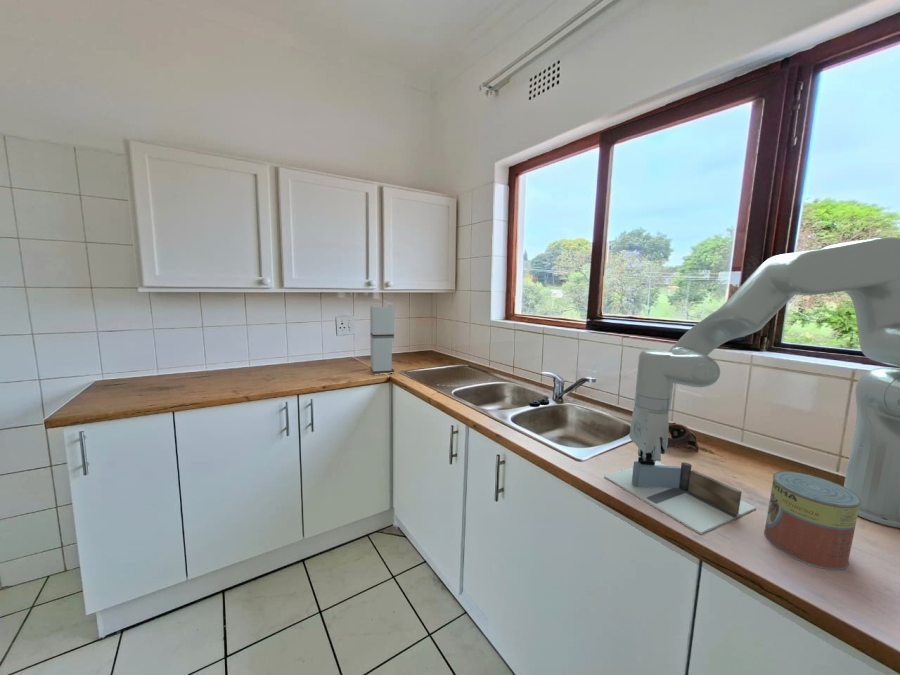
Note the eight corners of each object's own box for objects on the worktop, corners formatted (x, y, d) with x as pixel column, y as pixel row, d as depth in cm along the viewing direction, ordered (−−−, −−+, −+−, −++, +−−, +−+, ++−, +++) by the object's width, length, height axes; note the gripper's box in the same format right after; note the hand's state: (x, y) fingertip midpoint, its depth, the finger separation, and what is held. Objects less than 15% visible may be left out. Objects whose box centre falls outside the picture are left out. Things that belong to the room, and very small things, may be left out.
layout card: (756, 509, 78) (757, 507, 78) (701, 535, 70) (702, 532, 69) (656, 461, 99) (656, 460, 99) (603, 477, 90) (604, 475, 90)
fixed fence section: (739, 516, 76) (743, 487, 75) (733, 519, 75) (738, 489, 74) (681, 487, 86) (684, 461, 85) (676, 489, 85) (679, 463, 84)
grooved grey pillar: (393, 374, 189) (393, 307, 184) (373, 375, 186) (372, 307, 181) (390, 369, 200) (390, 306, 195) (370, 370, 196) (370, 306, 191)
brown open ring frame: (707, 458, 103) (698, 436, 101) (671, 467, 106) (663, 445, 104) (689, 432, 114) (681, 411, 112) (657, 440, 117) (649, 420, 115)
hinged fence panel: (675, 485, 86) (678, 463, 85) (679, 488, 84) (681, 466, 83) (630, 483, 86) (632, 461, 85) (633, 486, 85) (635, 464, 84)
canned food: (757, 519, 75) (766, 465, 73) (833, 540, 69) (844, 481, 67) (772, 553, 65) (782, 492, 63) (861, 580, 59) (875, 513, 58)
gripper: (624, 392, 93) (618, 458, 96) (650, 411, 78) (642, 490, 81) (654, 393, 92) (647, 460, 95) (686, 413, 78) (677, 492, 80)
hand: (645, 474), depth 88 cm, fingers closed
